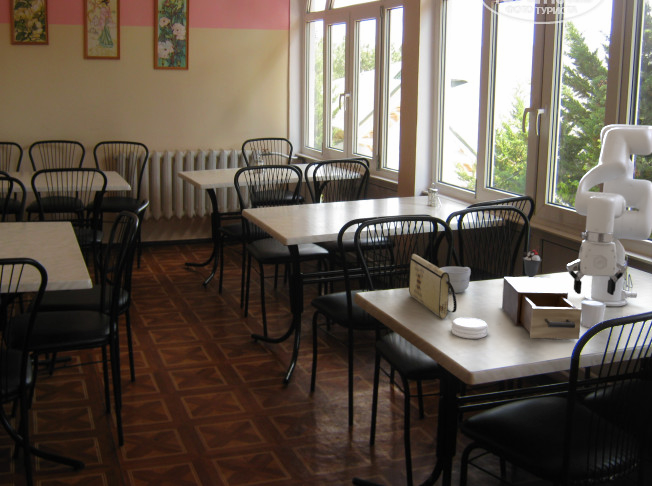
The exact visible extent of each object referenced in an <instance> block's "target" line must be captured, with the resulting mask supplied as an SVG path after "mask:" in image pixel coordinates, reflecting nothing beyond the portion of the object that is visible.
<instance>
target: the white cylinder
mask: <svg viewBox="0 0 652 486" xmlns="http://www.w3.org/2000/svg"><path fill="white" fill-rule="evenodd" d="M580 306H581V307H580V308H581V326H583V327H587V328H589V329H590V328H591V327H592V326H594V325H595V324H597V323H599V322H601V321H604V315H605V311H606V307H607V306H606V304H605V303H603V302H600V301H596V300H586V299H583V300H581V301H580ZM591 329H592V328H591Z"/></svg>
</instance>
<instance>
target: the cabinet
mask: <svg viewBox="0 0 652 486" xmlns="http://www.w3.org/2000/svg"><path fill="white" fill-rule="evenodd" d="M521 295H562V296H563V297H564V298H566V299H567V300H568V298H569V293H568V292H567V291H566V290H565V289H564V288H563V287H561V286H560V285H559V284H557V283H556V282H555V281H554V280H553V279H552V278H550V277H533V278H529V277H520V276H519V277H517V276H515V277H513V276H504V277H503V285H502V299H501V300H502V301H501V309H502V311H503V312H504V313H505V314H506V316H507V317H508V318H509V319H510V320H511V322H512V323H513V324H514V325H515V327H525V326H524V325H523V324H522V323H521V322H520V321H519V316H520V301H521ZM568 301H569V300H568Z"/></svg>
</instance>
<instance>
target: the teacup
mask: <svg viewBox="0 0 652 486" xmlns="http://www.w3.org/2000/svg"><path fill="white" fill-rule="evenodd" d="M439 268H440V269H441V270H443V271H445V272H447V273H448V274H449V278H450V283H451V285H452V286H453V289H454V292H455V294H458V293H464V292H465V290H467V289H468V287H469V285H470V276H471V274H472V273H471V272H472V271H471V268H470V267H468V266H464V267H463V266H443V267H439ZM450 293H451V290H450V291H449V294H450ZM451 294H452V293H451Z"/></svg>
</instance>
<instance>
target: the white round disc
mask: <svg viewBox="0 0 652 486" xmlns="http://www.w3.org/2000/svg"><path fill="white" fill-rule="evenodd" d="M451 333H452V335H454V336H456V337H458V338H462V339H469V340H477V339H478V340H479V339H482V338H485V337H486V336H487V335H488V323H487V322H486V321H485V320H482V319H480V318H476V317H468V316H467V317H464V316H463V317H456V318H454V319H453V320H452V321H451Z"/></svg>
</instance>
